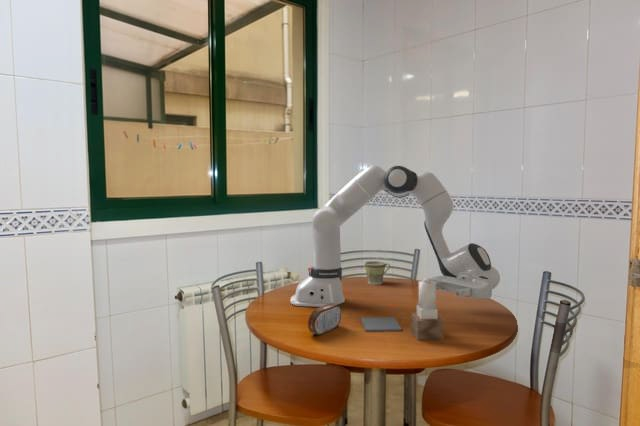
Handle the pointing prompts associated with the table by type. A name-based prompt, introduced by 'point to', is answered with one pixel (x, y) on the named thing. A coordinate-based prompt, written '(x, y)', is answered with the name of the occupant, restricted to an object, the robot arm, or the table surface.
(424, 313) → the white tapered tower
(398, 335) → the table surface
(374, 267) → the ceramic cup
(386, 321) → the mat
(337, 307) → the tin
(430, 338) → the post plinth
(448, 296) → the table surface
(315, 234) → the robot arm
